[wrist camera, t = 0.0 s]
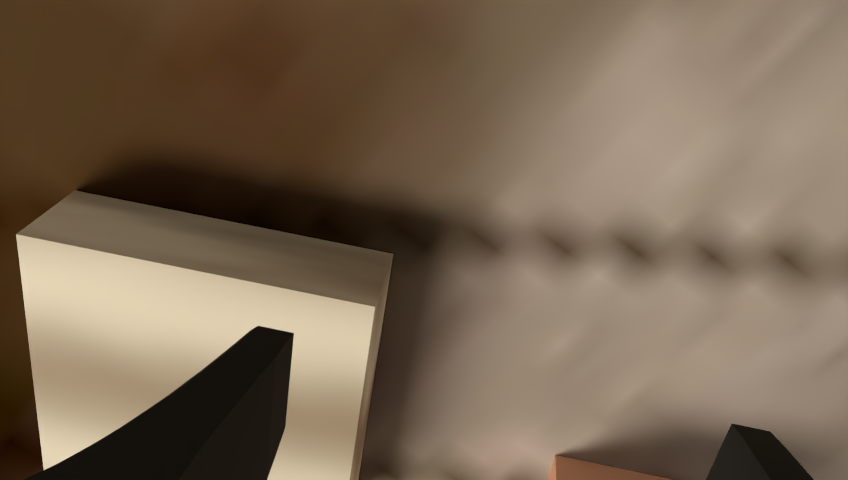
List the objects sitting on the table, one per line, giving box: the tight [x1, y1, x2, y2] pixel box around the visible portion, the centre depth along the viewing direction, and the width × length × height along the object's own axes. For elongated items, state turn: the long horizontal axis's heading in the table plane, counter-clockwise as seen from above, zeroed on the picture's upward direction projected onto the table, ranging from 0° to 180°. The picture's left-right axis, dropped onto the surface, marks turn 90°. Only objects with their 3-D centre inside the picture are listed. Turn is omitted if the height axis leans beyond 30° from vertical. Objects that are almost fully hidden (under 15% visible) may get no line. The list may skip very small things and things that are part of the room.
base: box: [16, 191, 393, 480], centre depth 24 cm, size 10×10×3 cm
